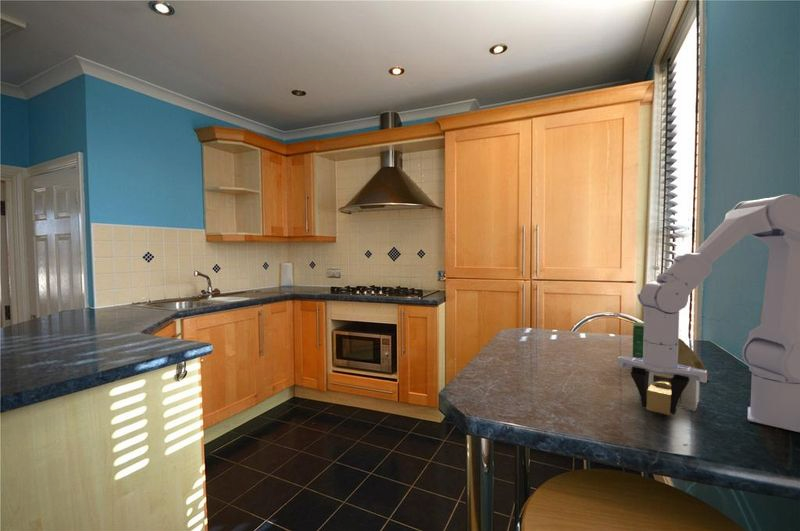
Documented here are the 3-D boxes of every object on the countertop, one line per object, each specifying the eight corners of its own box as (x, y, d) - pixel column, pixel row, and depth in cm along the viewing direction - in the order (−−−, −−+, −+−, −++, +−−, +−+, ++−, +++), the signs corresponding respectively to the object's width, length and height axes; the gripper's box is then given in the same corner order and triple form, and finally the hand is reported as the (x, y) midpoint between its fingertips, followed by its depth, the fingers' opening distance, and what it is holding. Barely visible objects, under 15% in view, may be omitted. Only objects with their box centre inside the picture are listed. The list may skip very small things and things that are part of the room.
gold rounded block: (652, 396, 85) (653, 371, 85) (683, 403, 81) (684, 377, 81) (641, 412, 76) (642, 385, 76) (675, 420, 72) (676, 392, 72)
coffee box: (633, 364, 111) (634, 320, 111) (645, 366, 109) (646, 322, 109) (631, 371, 105) (632, 325, 104) (643, 373, 103) (644, 326, 102)
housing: (698, 401, 84) (699, 368, 83) (695, 411, 78) (696, 376, 78) (646, 390, 90) (646, 360, 90) (639, 398, 85) (640, 366, 85)
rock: (723, 373, 96) (688, 357, 106) (710, 348, 95) (676, 334, 104) (690, 398, 96) (658, 379, 106) (676, 374, 94) (645, 358, 104)
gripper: (614, 339, 77) (612, 404, 77) (705, 352, 67) (703, 427, 67) (623, 333, 82) (621, 395, 82) (708, 345, 72) (706, 415, 72)
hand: (658, 409), depth 75 cm, fingers closed on gold rounded block, 4 cm apart
